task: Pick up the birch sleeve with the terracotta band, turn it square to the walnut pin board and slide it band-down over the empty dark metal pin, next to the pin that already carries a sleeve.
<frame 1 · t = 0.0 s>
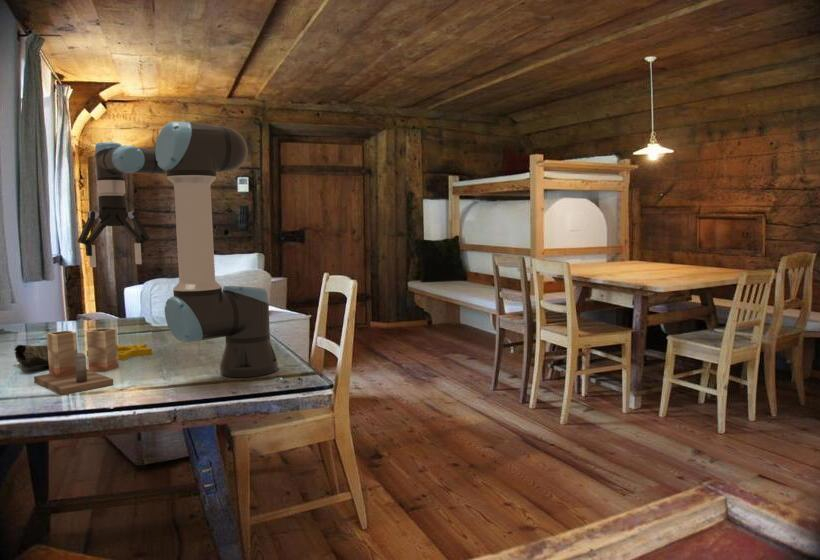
hand: (116, 265, 193), 28 cm above the table, fingers open, 13 cm apart
star of david: (119, 357, 198), on the table
pin board: (73, 383, 163), on the table
sleeve: (104, 368, 179), on the table
rock: (47, 366, 185), on the table
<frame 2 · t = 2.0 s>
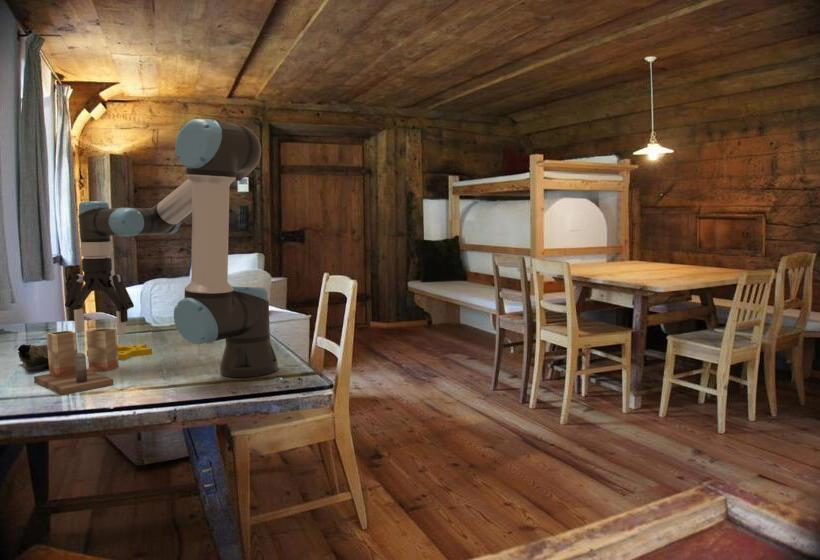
hand: (100, 333, 178), 10 cm above the table, fingers open, 13 cm apart
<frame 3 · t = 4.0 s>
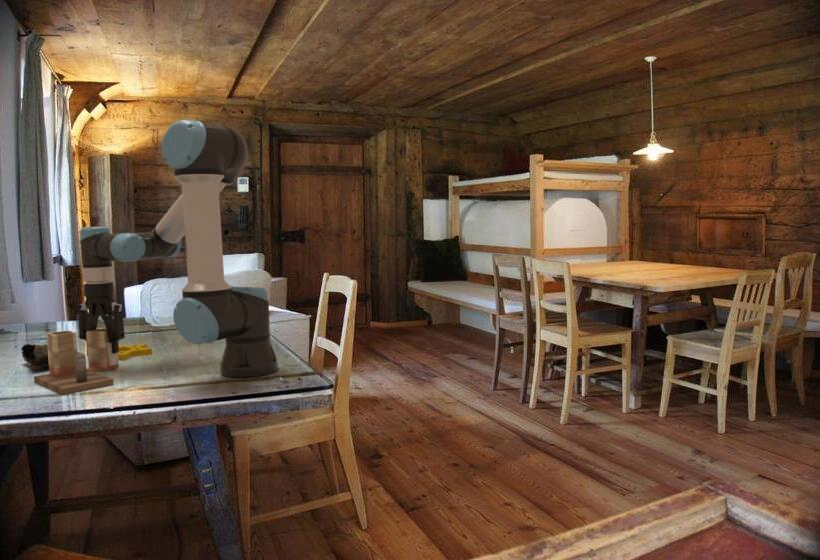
hand: (103, 364, 179), 1 cm above the table, fingers closed on sleeve, 5 cm apart
sleeve: (104, 368, 179), on the table, touching gripper
rock: (55, 365, 186), on the table
everything else where it was.
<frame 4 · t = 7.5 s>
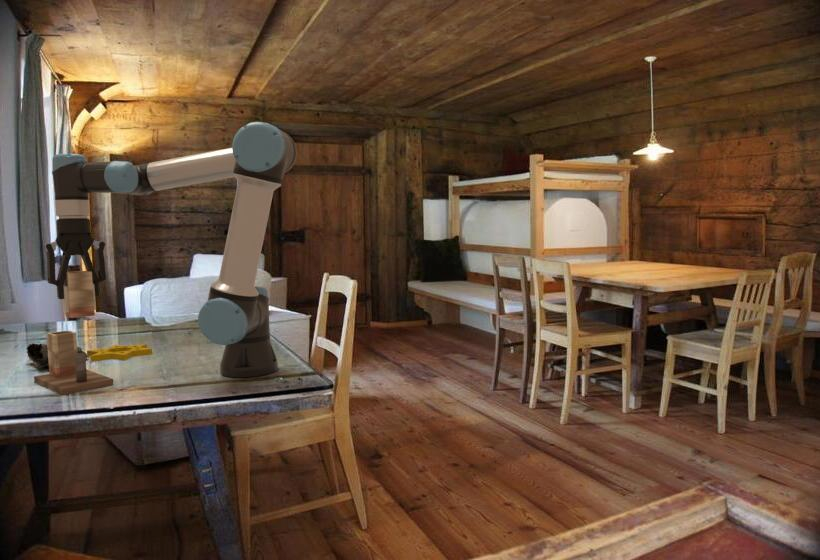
hand: (79, 310, 159), 19 cm above the table, fingers closed on sleeve, 5 cm apart
sleeve: (80, 315, 159), point 18 cm above the table, touching gripper
rock: (61, 365, 187), on the table
everything else where it was.
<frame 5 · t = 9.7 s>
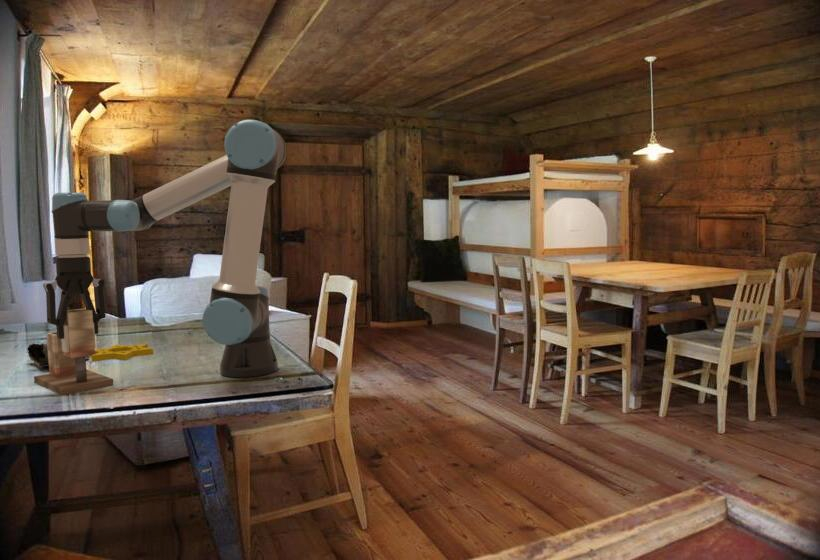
hand: (79, 349, 158), 10 cm above the table, fingers closed on sleeve, 5 cm apart
sleeve: (79, 354, 158), point 8 cm above the table, touching gripper
when the fingers open (4 cm above the table, at t = 11.4 s): sleeve drops 1 cm, resting on pin board.
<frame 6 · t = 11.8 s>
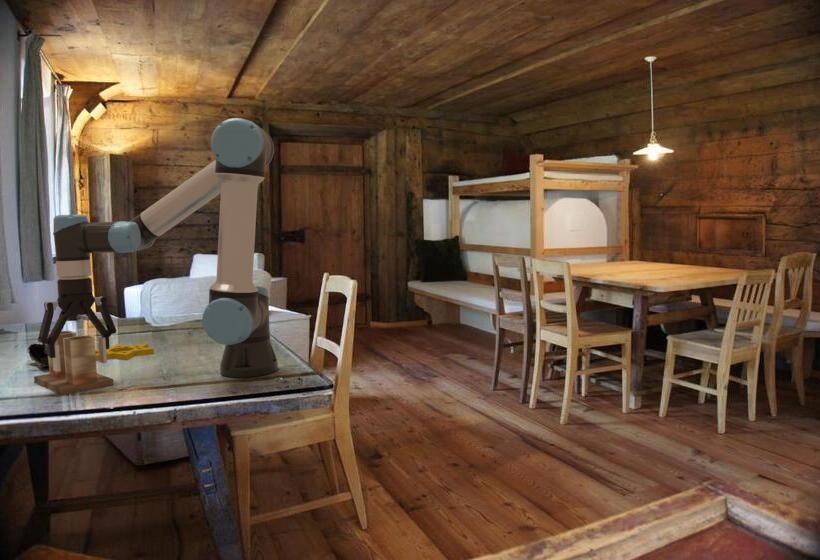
hand: (80, 366, 158), 5 cm above the table, fingers open, 10 cm apart
sleeve: (81, 381, 159), point 1 cm above the table, touching pin board
everything else where it was.
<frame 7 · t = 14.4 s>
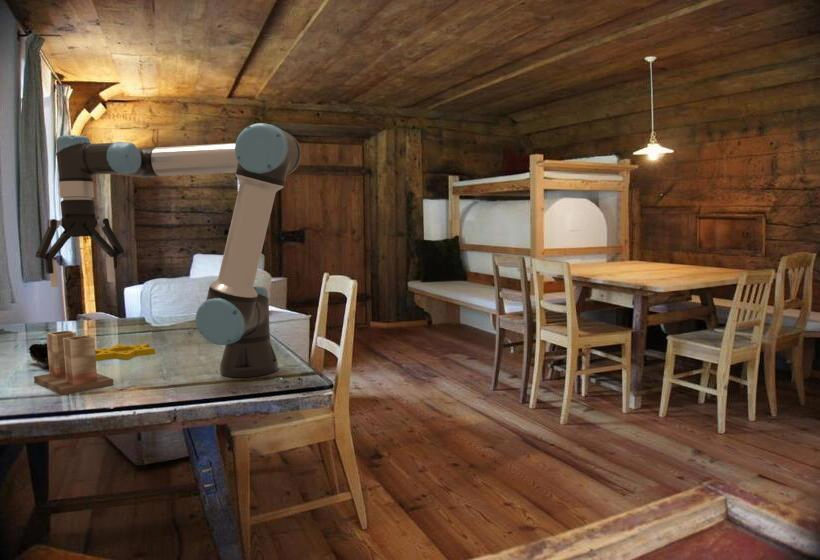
hand: (84, 284, 160), 25 cm above the table, fingers open, 13 cm apart
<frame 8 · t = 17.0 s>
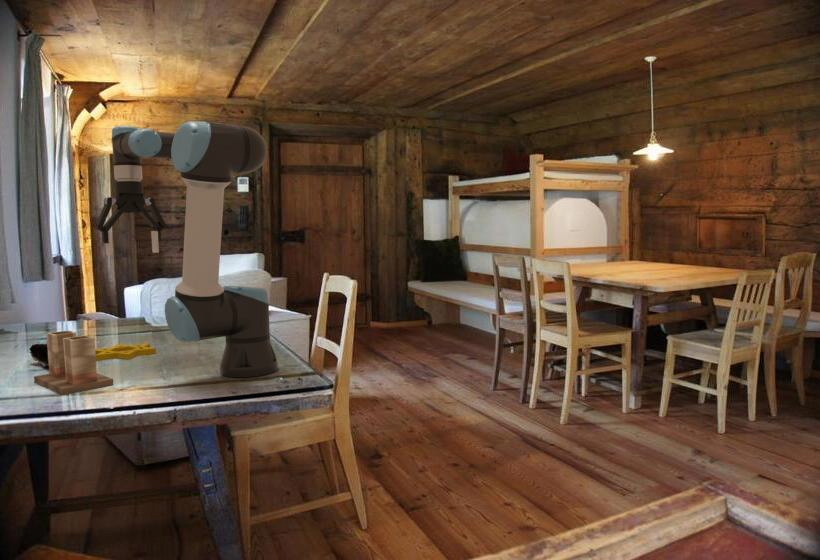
hand: (133, 253, 188), 32 cm above the table, fingers open, 13 cm apart
at the end: sleeve 0.0 cm from the target spot on the pin board, point 1.5 cm above the pin board's base; sleeve tilted 0°; the gripper is holding nothing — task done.
